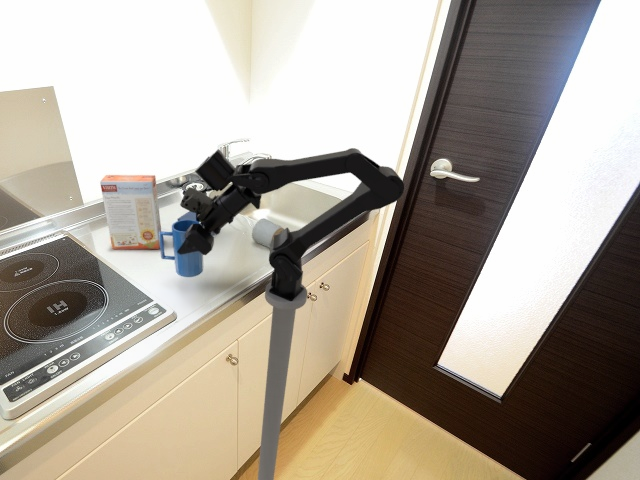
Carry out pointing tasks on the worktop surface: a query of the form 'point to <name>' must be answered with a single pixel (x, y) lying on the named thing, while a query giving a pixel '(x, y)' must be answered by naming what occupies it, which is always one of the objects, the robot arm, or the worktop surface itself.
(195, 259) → the blue mug
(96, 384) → the worktop surface
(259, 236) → the grey cylinder
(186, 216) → the slate-blue box
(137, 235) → the cracker box
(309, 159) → the robot arm
